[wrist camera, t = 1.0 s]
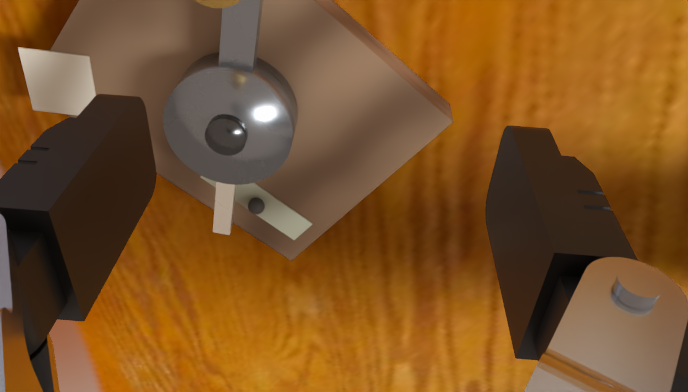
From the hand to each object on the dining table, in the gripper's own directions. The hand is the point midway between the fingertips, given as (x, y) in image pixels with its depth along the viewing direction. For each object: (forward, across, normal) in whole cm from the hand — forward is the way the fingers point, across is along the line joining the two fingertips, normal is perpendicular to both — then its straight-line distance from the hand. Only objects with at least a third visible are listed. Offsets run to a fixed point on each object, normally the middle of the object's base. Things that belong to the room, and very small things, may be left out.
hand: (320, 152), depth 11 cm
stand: (+20, +6, +9) cm, 22 cm away
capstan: (+17, +5, +7) cm, 20 cm away
